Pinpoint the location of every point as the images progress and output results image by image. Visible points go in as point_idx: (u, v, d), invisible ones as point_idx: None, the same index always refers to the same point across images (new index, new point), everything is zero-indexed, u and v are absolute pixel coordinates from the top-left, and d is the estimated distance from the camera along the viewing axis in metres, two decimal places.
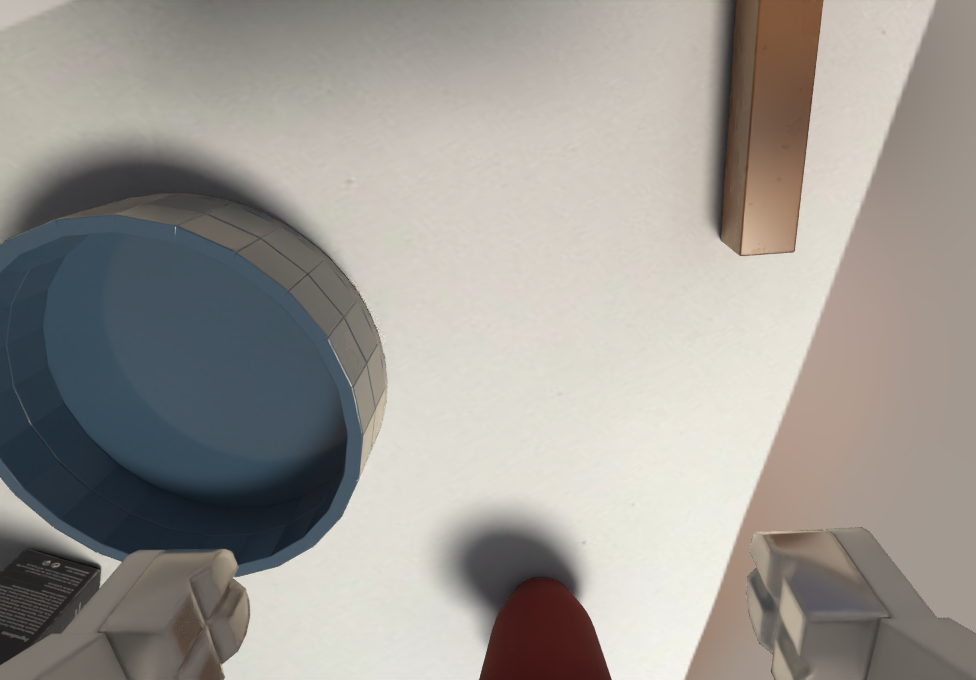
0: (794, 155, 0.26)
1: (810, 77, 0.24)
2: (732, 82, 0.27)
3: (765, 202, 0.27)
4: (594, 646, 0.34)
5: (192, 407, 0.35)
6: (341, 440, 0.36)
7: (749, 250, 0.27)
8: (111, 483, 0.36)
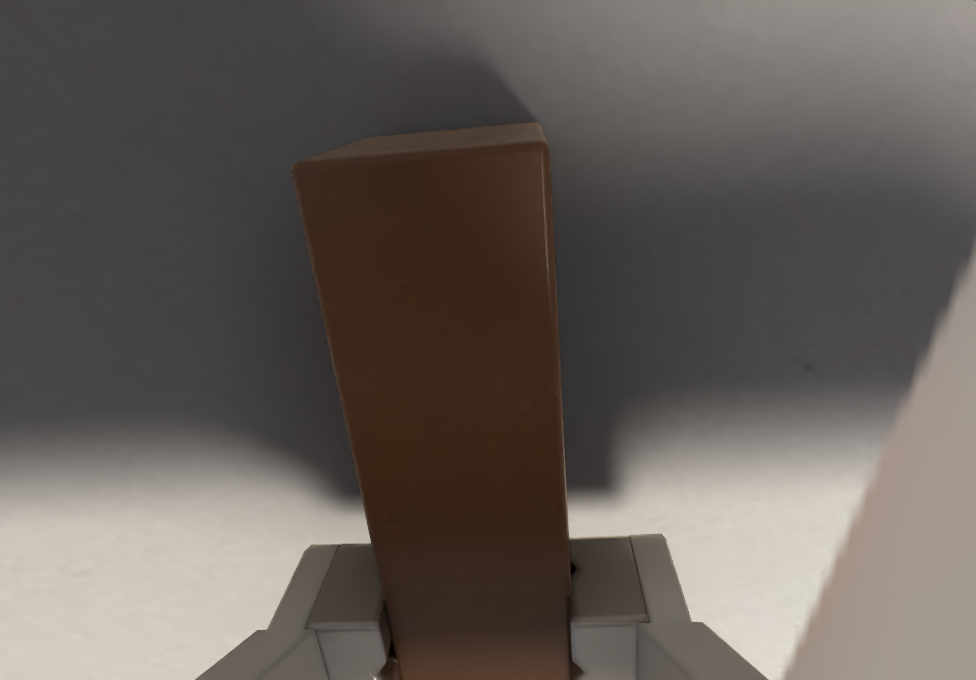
0: None
1: (556, 594, 0.08)
2: None
3: None
4: None
5: None
6: None
7: None
8: None
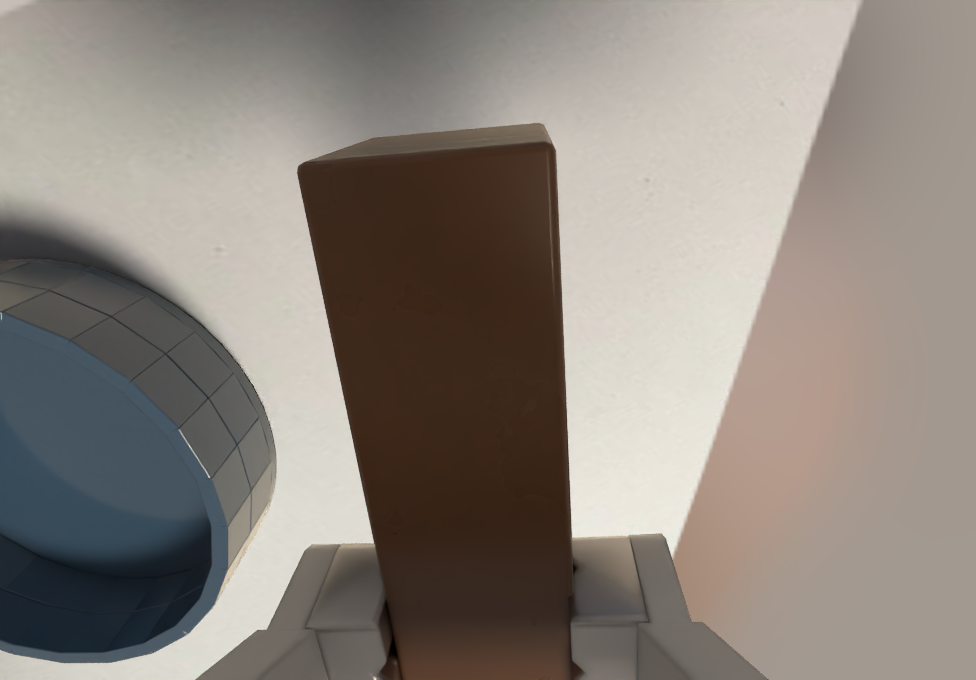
0: None
1: (558, 595, 0.08)
2: None
3: None
4: None
5: (70, 477, 0.33)
6: None
7: None
8: None
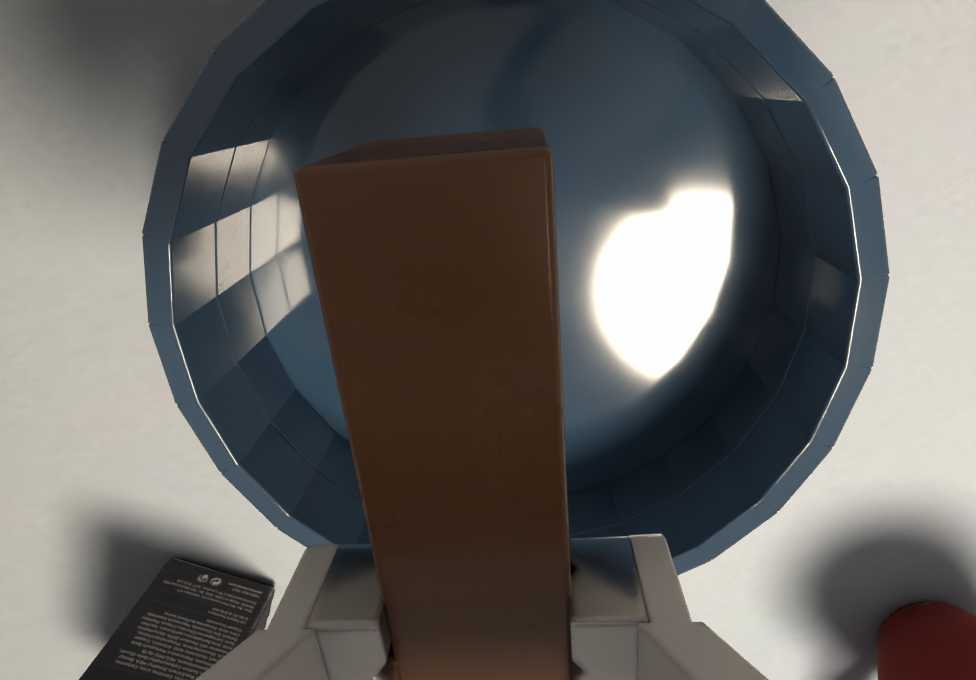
0: None
1: (556, 599, 0.08)
2: None
3: None
4: None
5: None
6: (696, 394, 0.23)
7: None
8: (335, 460, 0.23)
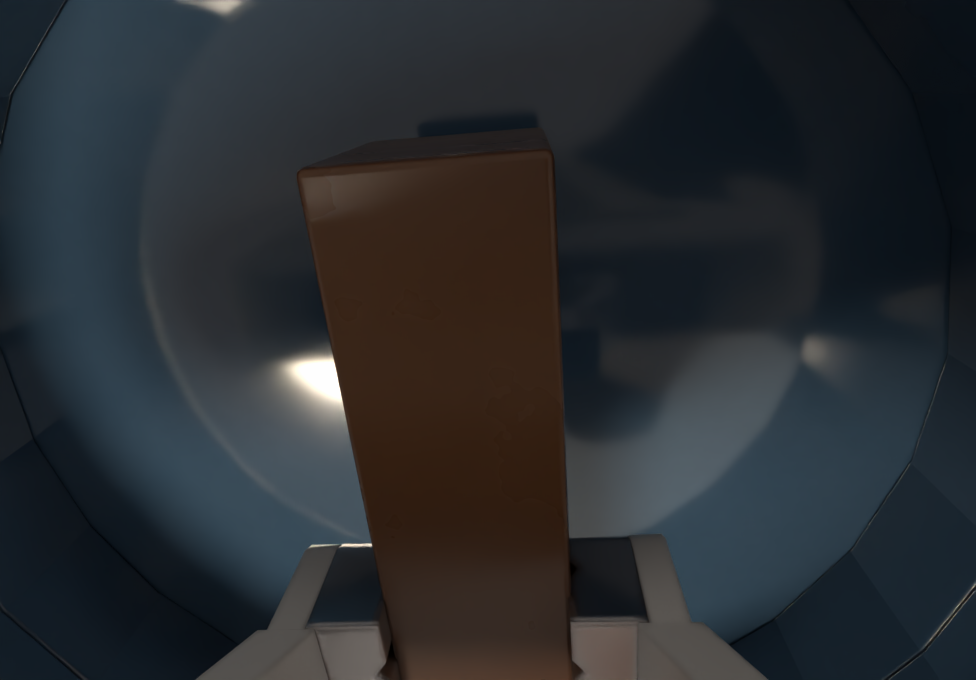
0: None
1: (556, 598, 0.08)
2: None
3: None
4: None
5: None
6: None
7: None
8: None
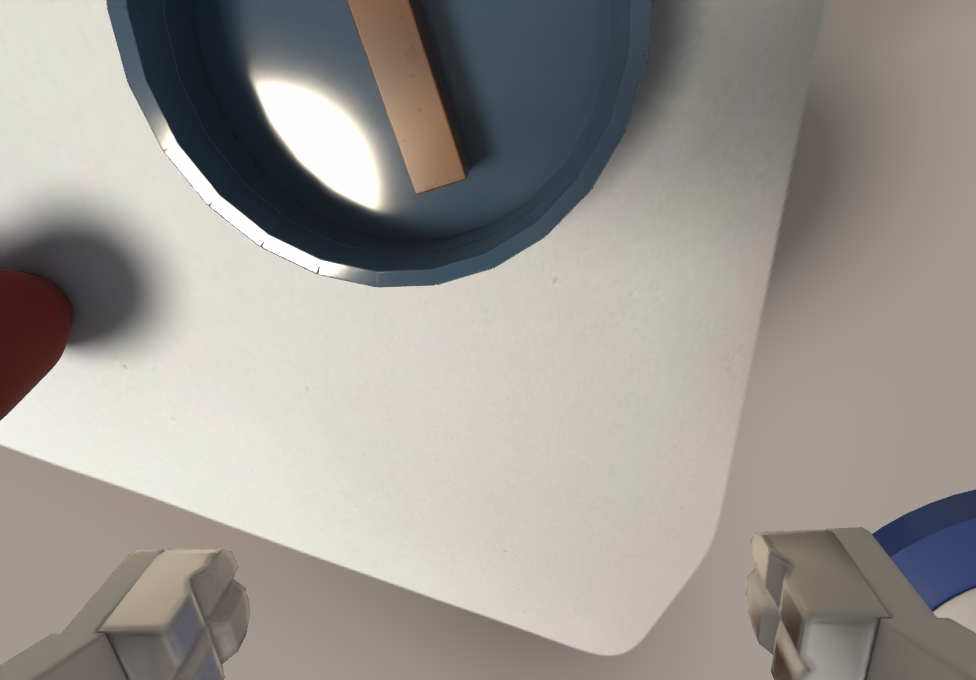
0: (423, 82, 0.25)
1: (404, 1, 0.24)
2: None
3: (417, 135, 0.26)
4: None
5: None
6: (285, 166, 0.30)
7: (422, 187, 0.27)
8: None
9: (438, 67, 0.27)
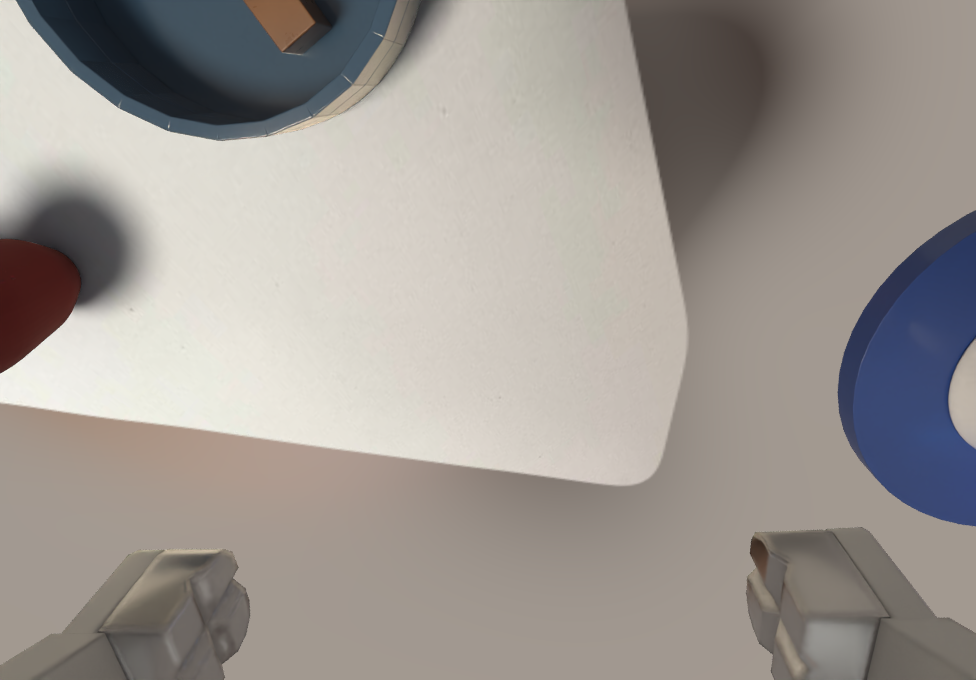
0: None
1: None
2: None
3: None
4: (38, 344, 0.37)
5: None
6: (189, 80, 0.35)
7: (283, 43, 0.31)
8: None
9: None
